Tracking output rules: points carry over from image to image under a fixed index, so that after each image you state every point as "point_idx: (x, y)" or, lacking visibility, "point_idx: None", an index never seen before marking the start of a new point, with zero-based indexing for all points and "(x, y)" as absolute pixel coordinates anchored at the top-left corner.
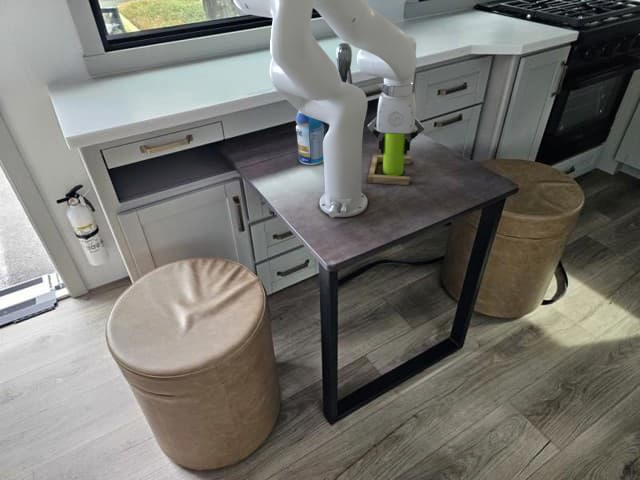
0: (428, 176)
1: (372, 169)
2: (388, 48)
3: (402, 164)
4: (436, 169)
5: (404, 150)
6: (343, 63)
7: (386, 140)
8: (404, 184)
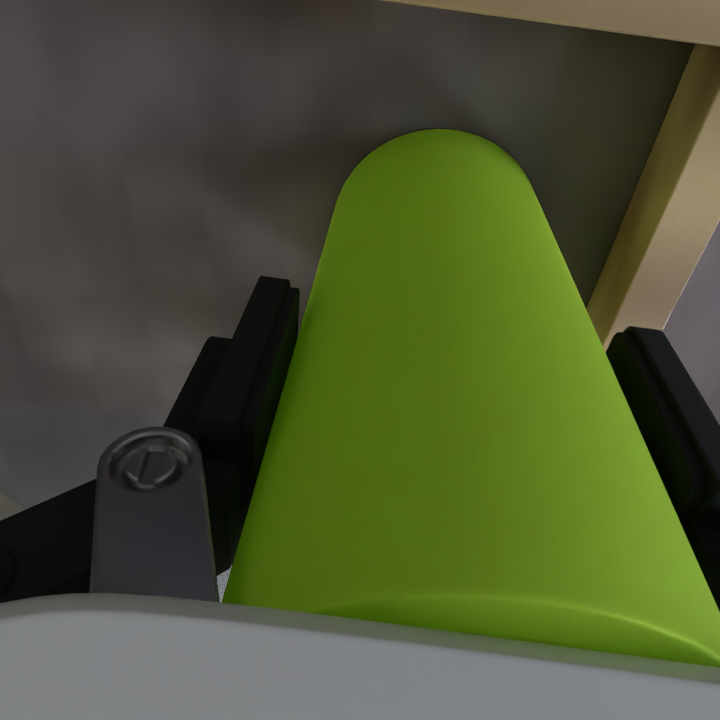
0: (72, 137)
1: (703, 188)
2: None
3: (332, 229)
4: (30, 269)
5: (286, 321)
6: None
7: (663, 489)
8: None
